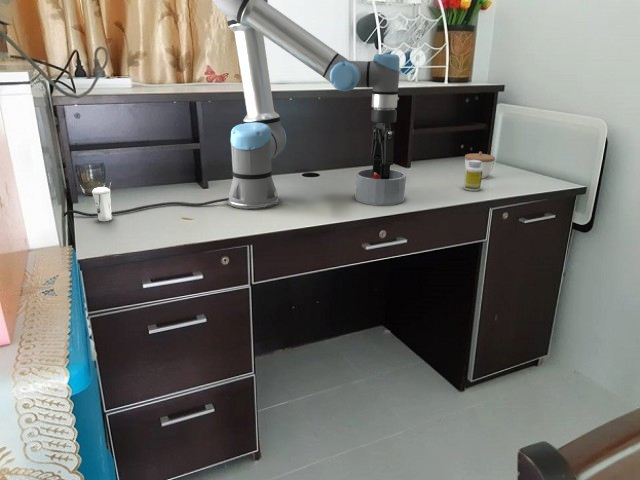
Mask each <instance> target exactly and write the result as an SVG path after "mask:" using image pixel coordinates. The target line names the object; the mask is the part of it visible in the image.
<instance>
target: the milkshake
mask: <svg viewBox="0 0 640 480" xmlns="http://www.w3.org/2000/svg"><path fill="white" fill-rule="evenodd" d="M111 186H112V181H111V182H109V186H108V187H105V186H104V187H103V186H98V187H95V188H93V189H92V190H91V194H92V198H93V202H94V205H95V210H96V213H97V214H98V216H97V218H98V221H99V222H109V221H111V220H112V218H113V217H112V215H111V212H112V204H111Z"/></svg>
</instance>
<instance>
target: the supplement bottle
mask: <svg viewBox="0 0 640 480" xmlns="http://www.w3.org/2000/svg"><path fill="white" fill-rule="evenodd" d="M480 166H481V161H479V160H470V161H469V167H467V168H466V170H465V174H464V182H463V189H464V190H466V191H471V192H477V191H480V190H481V184H482V178H481V177H482V168H481V167H480Z"/></svg>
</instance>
